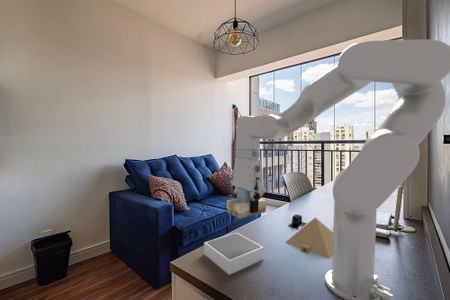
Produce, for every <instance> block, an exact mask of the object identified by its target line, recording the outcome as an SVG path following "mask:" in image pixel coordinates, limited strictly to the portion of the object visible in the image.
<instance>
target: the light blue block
mask: <svg viewBox="0 0 450 300" xmlns="http://www.w3.org/2000/svg"><path fill="white" fill-rule="evenodd" d="M253 193H254V196H255V192H253ZM237 200H238V201H241V202H243V203H247V202H250V200H251V196H250V193H249V191H246V190H244V189H241V188H237Z"/></svg>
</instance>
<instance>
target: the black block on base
mask: <svg viewBox="0 0 450 300" xmlns="http://www.w3.org/2000/svg"><path fill="white" fill-rule="evenodd" d="M307 224H308V223H307V222H304V221H303V215H300V214H294V215H292V219H291V223H289V224H288V225H287V227H289V228H292V229H296V230H301V229H302V228H303V227H304V226H305V225H307Z"/></svg>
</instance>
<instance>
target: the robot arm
mask: <svg viewBox="0 0 450 300" xmlns="http://www.w3.org/2000/svg"><path fill="white" fill-rule="evenodd" d="M449 74H450V45H449V44H448V43H446V42H443V41H440V40H436V39H395V40H394V39H392V40H391V39H389V40H388V39H386V40H367V41H365V40H364V41H359V42H355V43H353V44H351V45H349V46H348V47H346V48H345V49H344V50H343V51H342V52H341V53H340V55H339V57H338V60H337V64H336V65H335V66H333V67H332V68H330V69H329V70H327V71H326V72H325V73H323V74H322V75H320V76H319V77H317V78H316V79H315V80H313V81H312V82H310V83H309V84H307V85H306V86H304V88H303V90H302V91H301V92H300V94H299V97H298V98H297V100H296V101H295V102H294V103H293V104H292V105H290V106H289V107H288V108H287V109H284V111H282V112H281V113H279V114H277V115H276V114H275V115H274V114H272V113H270V114H269V113H267V114H260V115H240V116H239V117H237V119H236V130H235V132H236V133H235V134H236V136H235V137H236V138H235V159H234V165H233V178H232V179H231V180H230V184H231V188H232V190H233V194H234V199H236V198H237V188H241V189H244V190H246V191H249V193H250V196H251V200H250V213H255V212H258V205H259V200H260V198H261V199H262V197H263V196H264V194H265V193H266V191H267V190H266V188H265V186H264V179H263V178H264V177H263V176H264V174H263V165H262V161H261V159H260V157H261V153H260V140H265V141H272V140H281V139H284V138H286V137H287V136H289V135H291V134H293V133H294V132H296V131H298V130H299V129H301V128H302V127H304V126H306V125H307V124H308V123H310V122H311V121H312V120H314V119H316V118H318V116H321V114H323V113H324V112H326V111H327V110H329V109H330V108H332V107H334V106H335V105H337V104H339V103H341V102H342V101H343V100H346V98H349V97H350V96H352V95H353V94H355V93H357V92H358V91H360V90H362V89H364V88H365V87H367V86H368V85H369V84H370V83H372V82H373V83H385V84H392V86H393V88H394V90H395V92H396V93H397V101H396V104H395V106H394V107H393V109H392V110H391V111H390V112H389V113H388V115H387V117H386V118H385V119H384V121H383V122H382V123H381V124H380V125H379V126H378V128H377V129H376V130H375V131H374V133H372V135H371V136H369V137H368V138H367V139H366V141H365V142H364V144H363V145H362V148H361V150H360V151H359V152H358V153H357V155H356V156H355V157H354V159H353V160H352V161H351V162H350V163H349V165H348V166H347V167H346V168H345V169H343V170H341V171H339V173H338V174H337V176H336V177H335V180H334V182H333V185H332V197H333V200H334V203H333V225H332V226H333V227H332V232H333V250H332V257H331V260H332V261H331V270H328V271H327V272H326V273H325V284H326V285H327V287H328V289H330V290H331V291H332V292H333V293H334V294H335V295H336V296H339V297H340V298H342V299H344V300H395V295H394V294H393V293H392V288H390V287H387V286H386V285H385V286H384V285H382V284H381V282H379V276H378V275H377V274H375V256H376V255H375V254H376V235H377V210H378V209H379V208H380V207H381V206H382V205H383V204H384V203H385V202H386V201H387V200H388V199H389V197H391V196H392V194H393V193H394V192H395V191H396V190H397V189H398V188H399V187H400V186H401V185H402V183H404V181H405V180H406V179H407V178H408V177H409V176H410V175H411V174H412V172H413V171H414V170H415V168H416V167H417V165H418V163H419V160H420V155H421V151H420V146H419V145H420V144H421V143H422V142H423V140H425V138H426V137H427V135H428V134H429V133H430V131H431V130H432V129H433V128H434V127H435V126H436V125H437V123H438V122H439V120H440V119H441V117H442V115H443V113H444V111H445V107H446V92H445V91H446V89H445V86H444V85H443V83H442V80H443V79H445V78H446V77H447V76H448V75H449ZM253 192H255V196H254V193H253Z"/></svg>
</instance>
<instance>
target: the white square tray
mask: <svg viewBox="0 0 450 300" xmlns="http://www.w3.org/2000/svg"><path fill="white" fill-rule="evenodd" d="M203 254H204V256H206V257H207V258H208V259H210V260H211V261H212V262H213V263H214V264H215V265H216V266H218V267H219V268H220V269H221V270H223V271H224V272H225V273H226V274H227V275H229V276H230V275H233V274H234V273H237V272H239V271H241V270H244V269H246V268H248V267H250V266H252V265H254V264H256V263H259V262H261V261H263V260H264V257H265V255H264V254H265V247H264V246H262V245H260V244H259V243H257V242H255V241H254V240H251V239H249V238H248V237H246V236H244V235H242V234H240V233H239V232H233V233H229V234H226V235H224V236H221V237H217V238H214V239H211V240H208V241H205V242H203Z"/></svg>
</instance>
